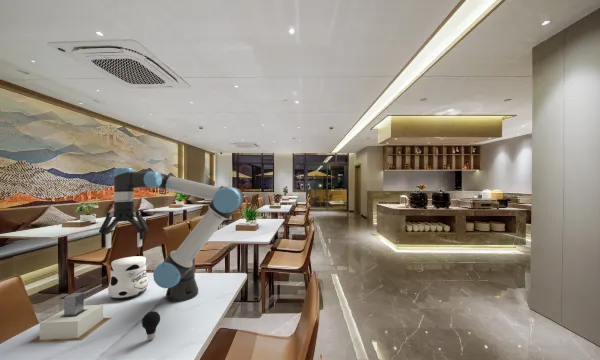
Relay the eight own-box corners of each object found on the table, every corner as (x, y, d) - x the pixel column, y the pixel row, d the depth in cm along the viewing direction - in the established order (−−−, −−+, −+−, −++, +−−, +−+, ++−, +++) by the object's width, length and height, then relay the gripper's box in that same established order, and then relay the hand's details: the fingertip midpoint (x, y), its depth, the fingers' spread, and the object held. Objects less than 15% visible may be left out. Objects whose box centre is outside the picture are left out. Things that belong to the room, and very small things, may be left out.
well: (103, 319, 105) (103, 304, 105) (77, 338, 92) (77, 321, 92) (69, 321, 104) (70, 306, 104) (39, 339, 91) (39, 322, 91)
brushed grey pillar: (83, 323, 100) (83, 292, 100) (74, 328, 96) (75, 296, 96) (72, 323, 100) (73, 292, 100) (63, 329, 96) (64, 297, 96)
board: (111, 320, 106) (111, 317, 106) (81, 343, 90) (81, 340, 90) (66, 322, 105) (66, 319, 105) (27, 346, 89) (27, 342, 89)
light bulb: (146, 335, 95) (146, 308, 95) (163, 334, 95) (163, 307, 95) (138, 345, 89) (138, 316, 89) (155, 344, 89) (155, 315, 90)
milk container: (148, 296, 130) (148, 261, 131) (106, 305, 121) (106, 267, 121) (147, 285, 145) (147, 254, 145) (109, 292, 135) (110, 258, 136)
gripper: (156, 199, 122) (156, 244, 121) (100, 201, 120) (100, 246, 119) (148, 200, 115) (148, 247, 114) (89, 202, 112) (89, 250, 112)
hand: (124, 247), depth 117 cm, fingers open, 13 cm apart
